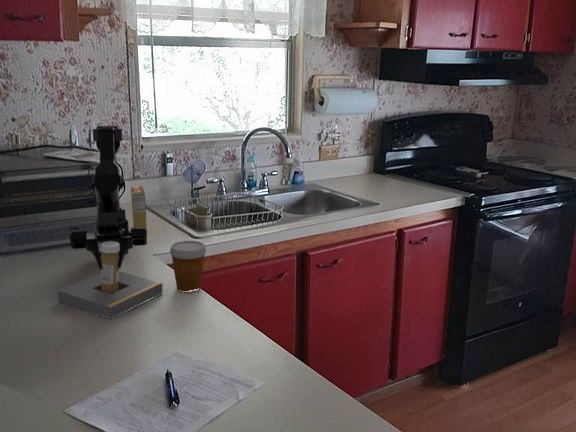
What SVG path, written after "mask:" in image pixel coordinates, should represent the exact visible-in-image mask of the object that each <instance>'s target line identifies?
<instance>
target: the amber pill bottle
mask: <svg viewBox="0 0 576 432" xmlns="http://www.w3.org/2000/svg"><path fill="white" fill-rule="evenodd" d="M119 251H120V244H119V243H118V242H115V241H106V242H103V243H101V242H100V252H101V253H102V255H100V259H101V269H100V274H101V291H102V292H106V293H109V294H112V293H115V292H117V291H119V271H120V268H119Z"/></svg>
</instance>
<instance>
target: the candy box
mask: <svg viewBox="0 0 576 432" xmlns="http://www.w3.org/2000/svg"><path fill="white" fill-rule="evenodd" d="M130 190H131V191H130V192H131V193H130V194H131V209H132V220H133V221H132V223H133V227H145V228H146V229H147V230H148V227H147V210H146V209H147V206H146V193H145V190H144V186H143V185H138V186H137V185H136V186H131V187H130Z"/></svg>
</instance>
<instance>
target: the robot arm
mask: <svg viewBox="0 0 576 432" xmlns="http://www.w3.org/2000/svg"><path fill="white" fill-rule="evenodd" d="M92 141H93V142H95V146H96V148H97V150H98V151H99V164H97V166H96V167H95V168H94V169H95V170H94V171H95V172H94V173H95V174H94V175H92V179H91V181H92V182H91V187H92V190H93V191H94V193H95V199H96V215H97V216H96V232H97V233H95V232H94V233H88V231H87V229H72V230H71V231H70V232H69V242H70V247H71V249H74V250H80V249H81V250H82V249H86V251H87V252H91V254H92V255H93V257H94V259H95V260H96V264H97V266H98V269H99V270H101V256H102V253H101V251H100V249H99V242H100V244H101V243H103V242H106V241H115V242H118V243H119V244H120V251H119V269H121V268H122V266H123V262H124V260H125V257H126V255H127V254H129V250H131V249H133V248H134V246H135V247H137V246H146V245H148V244H147V243H148V228H147V229H146V228H145V227H134V226H132V227H130V226H129V220H128V219H127V218H126V217H127V216H126V209H125V208H123V209H122V208H121V205H120V204H121V203H120V201H121V200H120V192H121V190H123V189H124V187H125V186H126V183H125V181H126V180H125V178H124V176H123V175H122V174H120V167H119V166H118V165H117V158H116V156H117V154H118V153H119V150H120V148H121V142H123V129H122V128H119V126H118V125H97V126H96V128H92ZM129 227H130V229H129Z"/></svg>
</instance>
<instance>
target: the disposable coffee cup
mask: <svg viewBox="0 0 576 432" xmlns="http://www.w3.org/2000/svg"><path fill="white" fill-rule="evenodd" d="M206 252H207V248H206V247H205V244H204V243H203V242H201V241H197V240H182V241H177V242H173V244H172V245H171V246H170V249H169V253H170V256H171V259H172V265H173V266H172V267H173V272H174V279H175V286H176V290H177V289H178V290H181V291H189V290H194V289H198V288H199V290H200V289H202V288H201V285H202V277H203V270H204V263H205V262H204V261H205V254H206ZM178 290H177V291H178ZM181 291H180V292H181Z"/></svg>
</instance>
